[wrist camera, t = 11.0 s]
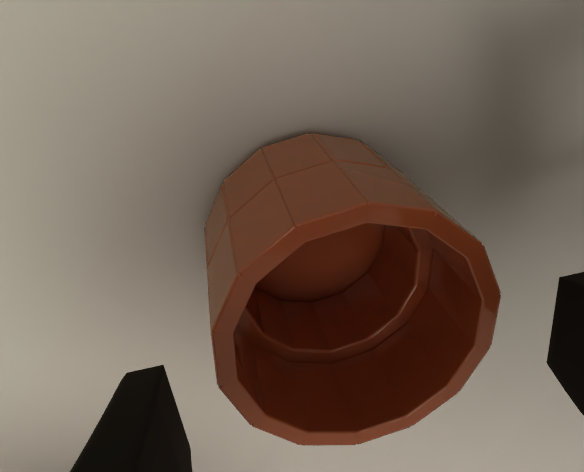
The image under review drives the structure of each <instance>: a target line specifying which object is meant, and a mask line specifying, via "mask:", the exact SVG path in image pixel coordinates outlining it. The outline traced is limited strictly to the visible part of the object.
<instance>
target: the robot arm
mask: <svg viewBox="0 0 584 472" xmlns="http://www.w3.org/2000/svg"><path fill="white" fill-rule="evenodd" d="M547 364H548V366H549V367H550V369H551V370H552V372H553V373H554V375H555V376H556V378H557V379H558V381H559V382H560V384H561V385H562V387H563V388H564V390H565V391H566V392H567V394H568V395H569V397H570V398H571V399H572V401H573V402H574V403H575V405H576V406H577V408H578V409H579V410H580V412H581V413H582V414H583V415H584V272H582V273H577V274H572V275H568V276H563V277H559V284H558V291H557V297H556V304H555V311H554V318H553V324H552V331H551V338H550V345H549V351H548V358H547ZM70 472H192V464H191V449H190V445H189V442H188V439H187V436H186V433H185V430H184V427H183V424H182V421H181V418H180V415H179V412H178V409H177V405H176V402H175V399H174V396H173V393H172V390H171V387H170V384H169V381H168V378H167V375H166V372H165V368H164V365H160V366H156V367H151V368H147V369H142V370H138V371H133V372H129V373H126V375H125V376H124V377H123V379H122V380H121V382H120V384H119V386H118V388H117V389H116V391H115V393H114V395H113V397H112V399H111V401H110V402H109V404H108V406H107V408H106V410H105V412H104V413H103V415H102V417H101V419H100V421H99V422H98V424H97V426H96V428H95V430H94V431H93V433H92V435H91V437H90V438H89V440H88V442H87V444H86V446H85V447H84V449H83V451H82V452H81V454H80V456H79V457H78V459H77V461H76V462H75V464H74V466H73V468H72V469H71V471H70Z"/></svg>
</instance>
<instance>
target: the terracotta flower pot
mask: <svg viewBox="0 0 584 472" xmlns="http://www.w3.org/2000/svg"><path fill="white" fill-rule="evenodd" d="M204 229H205V245H206V261H207V278H208V295H209V311H210V327H211V339H212V347H213V355H214V363H215V371H216V379H217V384H218V386H219V388H220V390H221V391H222V392H223V393H224V394H225V396H226V397H227V398H228V399H229V400H230V402H231V403H232V404H233V405H234V406H235V407H236V409H237V410H238V411H239V412H240V413H241V415H242V416H243V417H244V418H245V419H246V420H247V422H248V423H249V424H250V425H252V426H253V427H255V428H258V429H260V430H263V431H265V432H268V433H270V434H273V435H275V436H278V437H280V438H283V439H285V440H288V441H291V442H293V443H296V444H298V445H300V444H301V445H356V444H361V443H364V442H367V441H370V440H373V439H376V438H379V437H382V436H385V435H388V434H391V433H394V432H397V431H400V430H403V429H406V428H409V427H411V425H414V424H416V423H417V422H419V421H420V420H421V419H423V418H424V417H426V416H427V415H428V414H430V413H431V412H432V411H434V410H435V409H437V408H438V407H439V406H441V405H442V404H443V403H445V402H446V401H448V400H449V399H450V398H452V397H453V396H454V395H456V394H457V393H458V391H460V390H461V389H462V387H463V386H464V384H465V383H466V381H467V380H468V379H469V377H470V376H471V374H472V373H473V371H474V370H475V369H476V367H477V366H478V364H479V363H480V361H481V360H482V358H483V357H484V356H485V354H486V353H487V351H488V350H489V348H490V346H491V344H492V339H493V333H494V328H495V323H496V318H497V313H498V308H499V303H500V298H501V295H500V289H499V287H498V284H497V281H496V278H495V275H494V273H493V270H492V267H491V264H490V261H489V259H488V256H487V253H486V250H485V247H484V246H483V245H482V243H481V242H480V241H479V240H478V239H477V238H476V237H475V236H473V235H472V234H471V233H470V232H469V231H468V230H467V229H465V228H464V227H463V226H462V225H461V224H460V223H459V222H457V221H456V220H455V219H454V218H453V217H452V216H451V215H449V214H448V213H447V212H446V211H445V210H444V209H443V208H441V207H440V206H439V205H438V204H437V203H436V202H435V201H434V200H432V199H431V198H430V197H429V196H428V195H427V194H426V193H424V192H423V191H422V190H421V189H420V188H419V187H418V186H416V185H415V184H414V183H413V182H412V181H411V180H410V179H408V178H407V177H406V176H405V175H404V174H403V173H402V172H400V171H399V170H398V169H397V168H396V167H395V166H394V165H392V164H391V163H390V162H388V161H387V160H386V159H384V158H383V157H382V156H380V155H379V154H378V153H376V152H375V151H374V150H372V149H371V148H370V147H368V146H367V145H366V144H364V143H363V142H362V141H358V140H355V139H348V138H342V137H335V136H329V135H322V134H316V133H314V134H312V135H311V134H310V133H308V134H304V135H301V136H298V137H295V138H291V139H288V140H285V141H281V142H278V143H275V144H272V145H268V146H265V147H263V148H262V149H259V150H257V151H256V152H255V153H254V154H253V155H252V156H251V157H250V158H249V159H247V160H246V161H245V162H244V163H243V164H242V165H241V166H240V167H239V168H237V169H236V170H235V171H234V172H233V173H232V174H231V175H230V176H229V177H227V178H226V179H225V180H224V181H223V184H222V185H221V187H220V189H219V192H218V194H217V197H216V199H215V202H214V204H213V207H212V209H211V212H210V214H209V217H208V219H207V222H206V227H205V228H204Z"/></svg>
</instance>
